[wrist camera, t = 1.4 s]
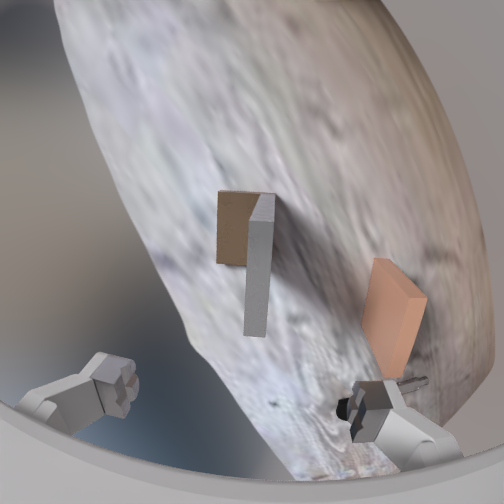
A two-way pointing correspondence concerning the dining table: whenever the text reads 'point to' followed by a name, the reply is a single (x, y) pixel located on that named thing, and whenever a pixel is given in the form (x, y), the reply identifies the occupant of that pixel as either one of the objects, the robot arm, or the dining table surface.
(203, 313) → the dining table surface
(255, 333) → the bookend
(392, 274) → the tile
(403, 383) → the micrometer
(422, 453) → the robot arm
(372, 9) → the dining table surface
